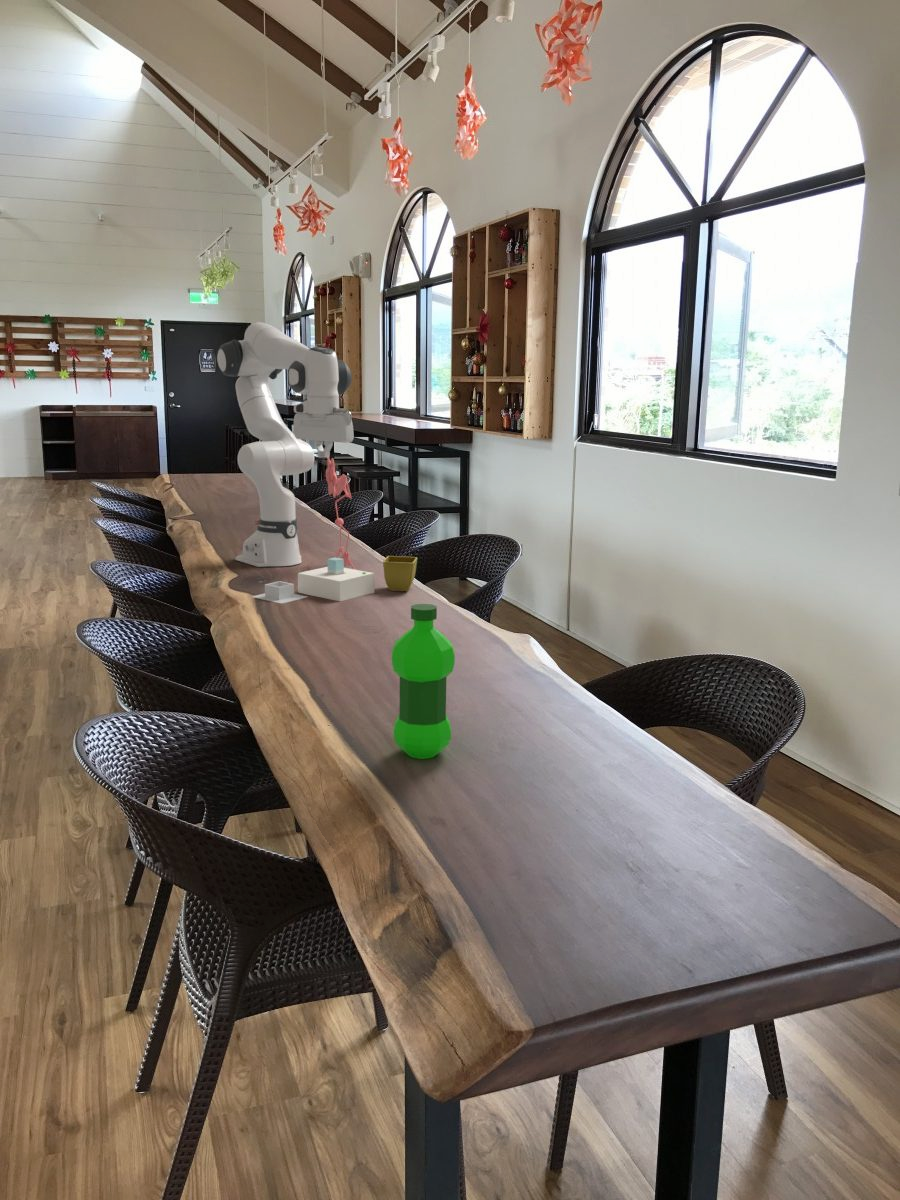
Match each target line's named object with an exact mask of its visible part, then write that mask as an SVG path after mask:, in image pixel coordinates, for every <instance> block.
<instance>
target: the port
mask: <svg viewBox="0 0 900 1200" xmlns="http://www.w3.org/2000/svg"><path fill="white" fill-rule="evenodd" d="M297 593H299V594H304V595H309V596H313V597H319V598H323V599H327V600H331V601H336V602H344V601H347V600H351V599H354V598H359V597H362V596H366V595H369V594H375V572H369V571H365V570H360V569H359V570H358V569H355V570H354V569H353V568H348V567H344V574H341V575H331V574H328V569H327V566H325V567H320V568H315V569H309V570H306V571H301V572H298V573H297Z"/></svg>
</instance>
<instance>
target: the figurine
mask: <svg viewBox="0 0 900 1200" xmlns="http://www.w3.org/2000/svg"><path fill="white" fill-rule="evenodd" d="M326 462H327V468H326V469H325V478H326V482H327V488H328V489H327V490H328V495H329V496H331V495H332V496H333V498H334V499H335V498H336V496H337V497H338V496H339V495H340V494H341V493H342V492H344V493H345V494H343V495H342V496H341V497H339V498H337V499H336V500H335V502H334V507H335V512H336V517H337V518H336V519H335V520H334V524H335V525H336V526H337V528H338V527H339V549H338V551H337V552H336V554H335V555H334V557H333V558H335V557H336V558H339V557H338V556H340V554H341V553H342V555H341V557H340V558H341V559H344V568H346V567H347V565H348V566H351V569H354V570H356V568H355V566H354V565H353V563H352V561H351V559H350V552H349V551H347V550H348V544H349V538H350V532H349V531H348V530H347V529H346V528H345V527H344V526H343V525H344V520H343V518H341V517H339V513H338V511H339V510H338V504H337V503H338V502H339V501H340V500H342V499H343V498H349V499H350V500H352V494H351V489H350V486H349V483H348V478H347V477H348V476H347V475H345V474H344V473H343V474H342V475H340V476H339V477H337V473H336V468H335V467H336V465H335V461H334V458H333V457H332V458H331V459H330V457H327V459H326ZM342 529H343V530H344V531H345V532H346V533H347V537H346V538H347V540H346V546H345V552H344V550H343V549H344V546H342Z"/></svg>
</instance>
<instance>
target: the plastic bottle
mask: <svg viewBox="0 0 900 1200" xmlns="http://www.w3.org/2000/svg"><path fill="white" fill-rule="evenodd" d="M437 609H438V607H437V605H435V604H428V603H417V604H414V605H413V604H412V605H410V619H411V620H413V621H414V622H413V627H412V628H410V629H409V630H408V631H407V632H404V634H403V635H401V636H400V637H399V638H398V639H397V640H396V641H395V642H394V645H393V647H392V653H391V665H392V669H393V671H394V672H395V673H396V675H397V676H399V713H398V715H397V716H396V719H395V721H394V725H393V740H394V742H395V744H396V745H397V747H398V748H399V749H400V750H402V751H403V752H404V753H406V755H407V756H409V757H411V758H413V759H419V760H425V759H432V758H434V757H435V756H437V755H438V754H439V753H441V752H442V751H443V750H444V749H446V747H448V745H449V743H450V741H451V739H452V728H451V723H450V719H449V717H448V715H447V714H446V713H447V677H448V676H449V675H450V674H451V673H452V672H453V670H454V666H455V659H456V658H455V657H456V656H455V649H454V647H453V644H452V642H451V641H450V640H449V639H448V638H447V637H446V636H445V635H444V634H443V633H441V631H439V630H438V629H437V628H435V627H434V621H435V620H437V617H438V616H437V615H438V611H437Z"/></svg>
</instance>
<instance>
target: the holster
mask: <svg viewBox="0 0 900 1200" xmlns="http://www.w3.org/2000/svg"><path fill="white" fill-rule="evenodd" d="M250 597H251V598H255V599H260V600H264V601H268V602H273V603H277V604H285V603H290V602H294V601H299V600H301V599H306V598H308V596H307V595H302V594H297V593H295V584H294V583H290V582H286V581H274V582H270V583H266V584H264V593H260V594H257V595H252V596H250Z"/></svg>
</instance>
